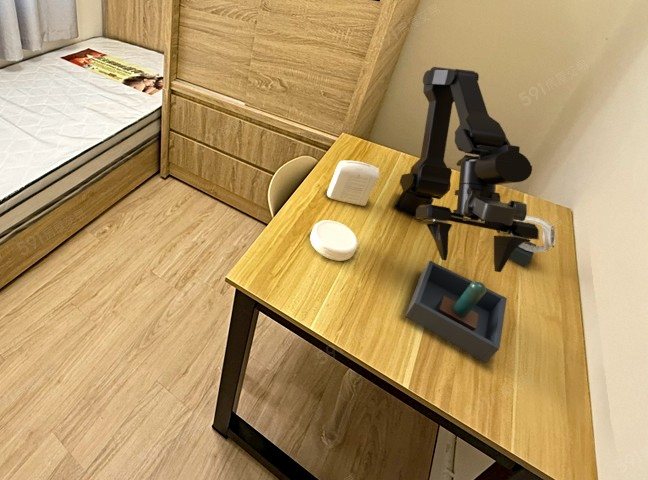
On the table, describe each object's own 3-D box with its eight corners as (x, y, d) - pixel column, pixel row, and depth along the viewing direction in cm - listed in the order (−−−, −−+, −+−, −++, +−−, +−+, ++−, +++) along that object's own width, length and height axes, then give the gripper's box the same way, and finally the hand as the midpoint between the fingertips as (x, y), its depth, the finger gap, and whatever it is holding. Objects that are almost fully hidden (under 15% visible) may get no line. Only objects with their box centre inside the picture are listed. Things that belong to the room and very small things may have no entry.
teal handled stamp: (432, 318, 81) (460, 281, 74) (436, 305, 83) (463, 268, 77) (467, 337, 78) (499, 301, 71) (471, 323, 80) (502, 286, 73)
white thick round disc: (305, 227, 101) (308, 217, 99) (345, 230, 101) (350, 220, 99) (315, 259, 93) (319, 249, 91) (359, 263, 92) (364, 253, 90)
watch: (535, 271, 91) (564, 239, 85) (493, 250, 96) (517, 218, 90) (539, 258, 95) (568, 226, 88) (498, 238, 99) (522, 206, 93)
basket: (404, 317, 81) (414, 302, 78) (420, 275, 90) (429, 260, 87) (484, 364, 74) (499, 349, 71) (493, 313, 83) (507, 298, 80)
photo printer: (365, 197, 111) (381, 162, 104) (367, 208, 107) (383, 172, 100) (326, 189, 113) (338, 154, 106) (326, 199, 110) (340, 164, 103)
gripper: (445, 173, 75) (437, 257, 72) (565, 193, 71) (561, 284, 68) (418, 179, 85) (410, 253, 83) (520, 197, 81) (515, 276, 79)
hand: (470, 265), depth 78 cm, fingers open, 9 cm apart
